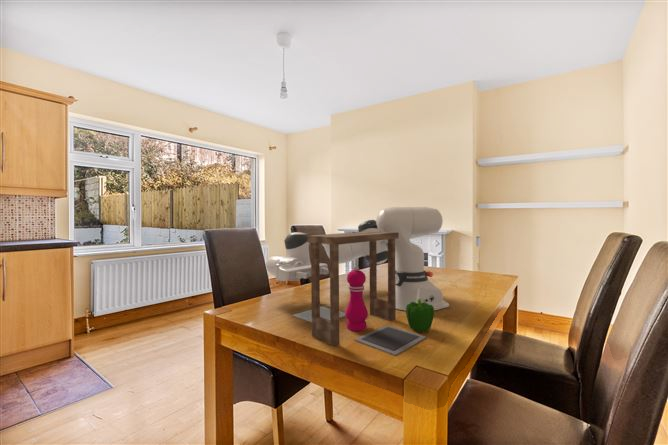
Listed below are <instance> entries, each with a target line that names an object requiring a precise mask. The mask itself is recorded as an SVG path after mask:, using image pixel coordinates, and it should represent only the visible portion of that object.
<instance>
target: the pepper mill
mask: <svg viewBox="0 0 668 445" xmlns="http://www.w3.org/2000/svg"><path fill="white" fill-rule="evenodd" d="M366 279H367V277H366V274H365V272H363V271H362V270H360V266H358V265H356V264H355V265H354V266H353V270H351V271H348V273H347V275H346V282H347V283H348V291H349V301H348V303H347V305H346V308H345V312H344V313H345V318H346V320H347V321H346V328H347V329H348V330H349V331H353V332H363V331H365V330H366V329H367V321H366V320H367V318H368V317H369V312H368V308H367V306H366V304H365V301H364V296H363V293H364V291H365V285H364V284H365V283H366V281H367V280H366Z"/></svg>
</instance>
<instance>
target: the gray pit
mask: <svg viewBox="0 0 668 445" xmlns="http://www.w3.org/2000/svg"><path fill="white" fill-rule="evenodd" d="M425 339H427V336H425V335H421V334H418V333H417V332H416V333H415V332H412V331H408V330H404V329H402V328H398V327H395V326H393V325H392V326H391V325H390V324H389V325H388V324H386V325H383V326H381V327H379V328H376V329H375V330H374V329H373V331H370V332H368V333H365V334H363V335H361V336H359V337H356V338H354V339H353V340H354V341H355V342H357V343H360V344H363V345H366V346H368V347H371V348H373V349H376V350H379V351H381V352H384V353H387V354H389V355H392V356H395V357H396V356H398V355H399V354H401V353H403V352H405V351H407V350H408V349H410V348H411V347H413V346H415V345H417V344H419V343H421V342H423V340H425Z"/></svg>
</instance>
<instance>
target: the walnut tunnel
mask: <svg viewBox="0 0 668 445" xmlns="http://www.w3.org/2000/svg"><path fill="white" fill-rule="evenodd" d="M323 234H324V233H323ZM397 238H399V232H374V231H369V232H358V231H357V232H354V231H353V232H345V233H344V232H343V233H329V234H324V235H310V236H307V242H309V244H310V263H311V276H310V277H311V278H310V279H311V280H310V281H311V284H310V286H311V289H310V290H311V295H310V296H311V309H312V323H311V337H313V338H315V339H317V340H320V341H323V342H325V343H327V344H329V345H332V346H334V347H337V346H340V318H339V312H340V269H339V268H340V265H339V245H340V244H349V243H359V242H368V241H369V260H370V263H369V316H374V317H378V318H381V319H384V320H388V321H391V322H395V321H396V319H397V318H396V314H397V313H396V310H397V309H396V290H395V239H397ZM378 240H388V244H387V250H388V259H387V300H386V299H381V298H378V296H377V295H378V294H377V293H378V290H377V288H378V286H377V285H378V283H377V282H378V281H377V278H378V276H377V275H378V274H377V273H378V272H377V271H378V269H377V265H378V264H377V258H376V241H378ZM320 244H321V245H322V244H330V258H329V302H330V303H329V309H330V320H329V319H326V318H323V317H320V307H321V301H320V300H321V298H320V295H321V286H320V285H321V284H320V282H321V281H320V279H321V278H320V276H321V274H320V269H319V263H320Z"/></svg>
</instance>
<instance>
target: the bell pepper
mask: <svg viewBox="0 0 668 445" xmlns="http://www.w3.org/2000/svg"><path fill="white" fill-rule="evenodd" d="M405 315H406V320H407V323H408V327H409V328H410V329H411V330H413V331H415V332H416V333H426V332H428V331H429V330H430V329H431V328H432V324H433V319H434V317H435V316H434V315H435V310H434V308H433V306H432V305H428V304H427V303H425V302H423V303H421V299H418V303H415V302H411V303H410V304H407V307H406V311H405Z"/></svg>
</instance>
